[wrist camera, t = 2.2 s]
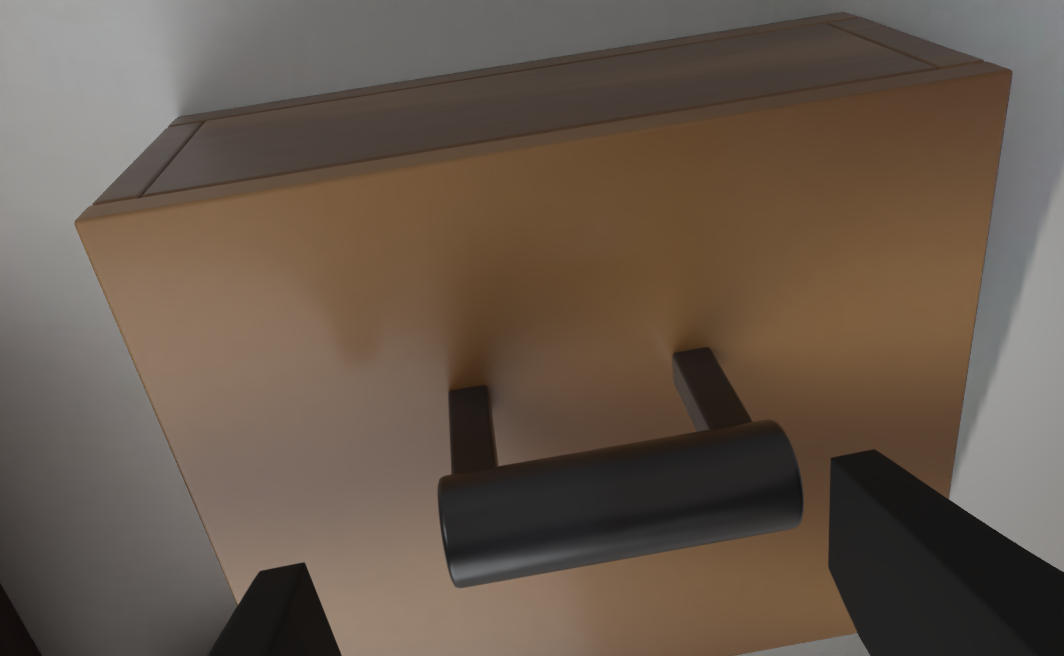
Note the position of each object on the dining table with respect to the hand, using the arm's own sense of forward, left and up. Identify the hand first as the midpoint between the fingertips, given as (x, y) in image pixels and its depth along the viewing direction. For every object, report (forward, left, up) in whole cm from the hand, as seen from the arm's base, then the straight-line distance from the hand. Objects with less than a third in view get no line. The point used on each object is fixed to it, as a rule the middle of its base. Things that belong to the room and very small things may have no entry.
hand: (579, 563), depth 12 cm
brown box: (-1, +2, -5) cm, 5 cm away
